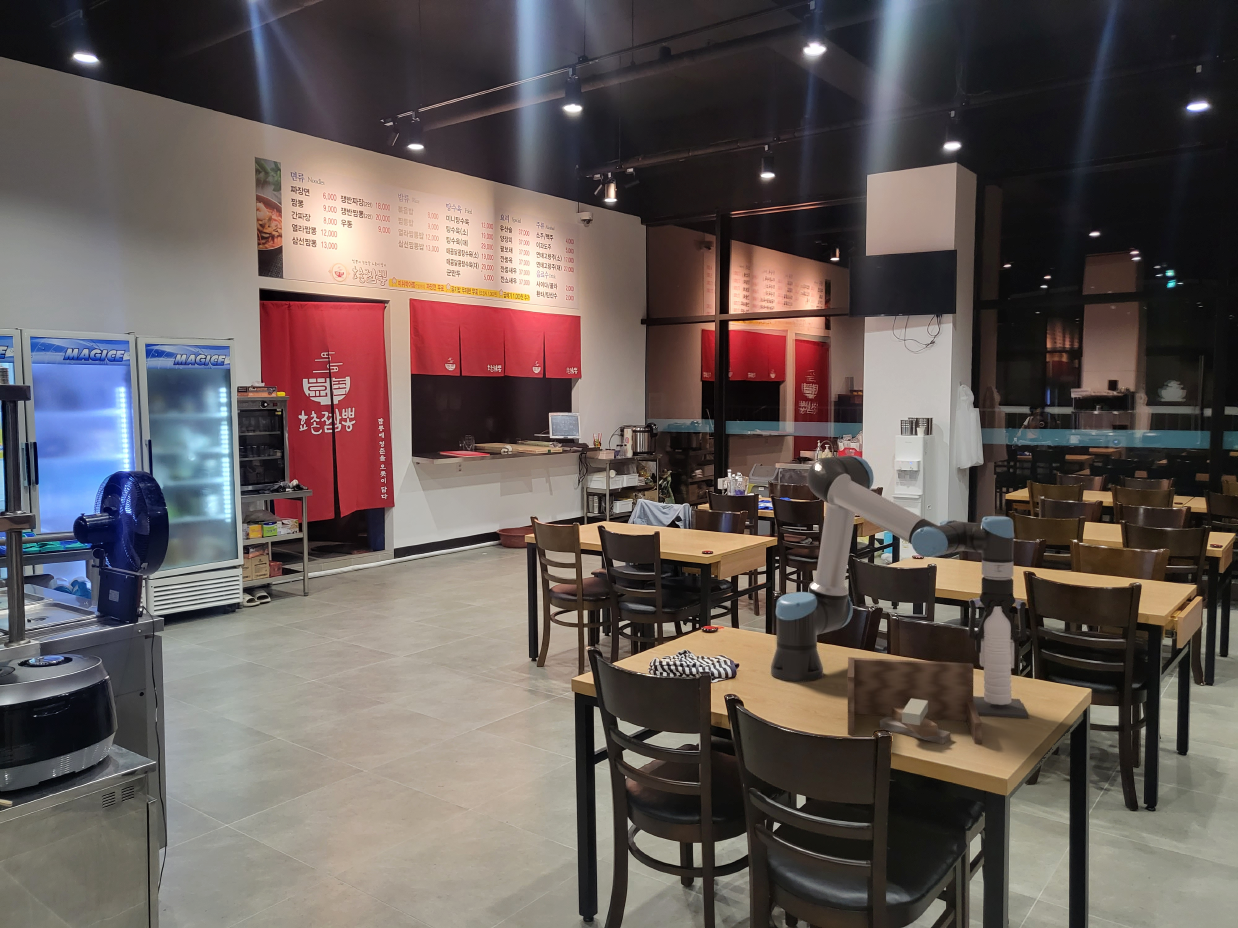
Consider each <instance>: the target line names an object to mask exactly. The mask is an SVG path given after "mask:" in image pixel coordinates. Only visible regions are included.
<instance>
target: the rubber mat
mask: <svg viewBox="0 0 1238 928" xmlns="http://www.w3.org/2000/svg"><path fill="white" fill-rule="evenodd" d="M973 702H974V705H975V707H976V710H977V712H978V715H979V716H985V717H986V716H987V717H997V718H998V717H1000V718H1001V717H1003V718H1013V719H1014V718H1016V719H1017V718H1018V719H1029V718H1030V717H1029V716H1030V715H1029V713H1028V712H1027V710H1026V708H1025V706H1024V705H1023V703H1022V701H1021V699H1020V698H1012V697H1011V703H1010V704H1005V705H998V704H991V703H988V702H986V701H985V700H984V696H979V695H978V696H974V695H973Z"/></svg>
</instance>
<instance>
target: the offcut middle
mask: <svg viewBox="0 0 1238 928" xmlns="http://www.w3.org/2000/svg"><path fill="white" fill-rule="evenodd" d="M905 707H906V706H899V707H892V716H891V718H894V719H895V720H897V721H898V722H900V723H901V724H903V725H904V726H906V727H907V728H909V729H910V730H912V731H913V732H915V733H916V734H918V735H919V736H921V737H929V736H938V729H939V727H938V726H939V725H938V724H937V723H935V722H933V720H931V719H930V718H925V717H924V718H923V720H922V722H921V724H920V725H915V724H908V723H902V711H903V710H904V708H905Z"/></svg>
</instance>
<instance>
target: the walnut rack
mask: <svg viewBox="0 0 1238 928" xmlns="http://www.w3.org/2000/svg"><path fill="white" fill-rule="evenodd" d="M974 668H975V667H974V663H971V662H970V663H967V662H950V661H933V660H932V661H931V660H910V659H907V660H906V659H890V658H871V657H868V658H867V657H852V656H851V657H850V656H848V657H847V735H852V736H854V735H855V714H856V715H857V714H858V715H871V716H872V715H873V716H875V715H876V716H884V717H885V716H886V717H892V707H899V706H906V705H907V704H908V702H909V701H910V699H911V698H912V699H919V700H926V701H928V712H927V713H926V715H925V718H927V719H929V720H932V719H933V720H945V721H947V720H948V721H960V722H961V721H964V722H967V726H968V729H969V731H970V734H971V736H972V740H973V742H974V745H975V744H976V745H982V743H983V742H982V741H983V740H982V739H983V738H982V730H983V729H982V727H983V724H982V720H981V718H980V715H978V712H977V710H976V707H975V705H974V702H973V696H974Z"/></svg>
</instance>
